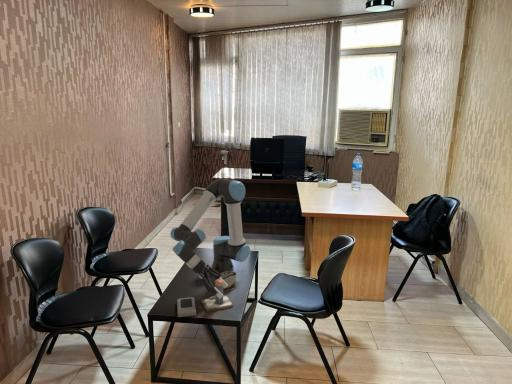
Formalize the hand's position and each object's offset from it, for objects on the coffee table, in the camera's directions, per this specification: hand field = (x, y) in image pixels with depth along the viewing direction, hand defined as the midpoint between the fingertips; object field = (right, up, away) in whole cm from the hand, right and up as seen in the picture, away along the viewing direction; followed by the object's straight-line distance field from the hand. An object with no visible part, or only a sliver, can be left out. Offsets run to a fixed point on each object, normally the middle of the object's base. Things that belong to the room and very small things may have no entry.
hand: (224, 291), depth 201 cm
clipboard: (-4, -8, +3) cm, 9 cm away
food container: (-1, -4, +21) cm, 21 cm away
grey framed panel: (-21, -9, -2) cm, 23 cm away
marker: (-3, -6, +2) cm, 7 cm away
